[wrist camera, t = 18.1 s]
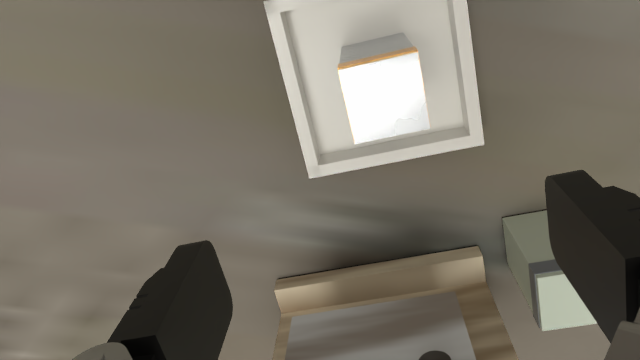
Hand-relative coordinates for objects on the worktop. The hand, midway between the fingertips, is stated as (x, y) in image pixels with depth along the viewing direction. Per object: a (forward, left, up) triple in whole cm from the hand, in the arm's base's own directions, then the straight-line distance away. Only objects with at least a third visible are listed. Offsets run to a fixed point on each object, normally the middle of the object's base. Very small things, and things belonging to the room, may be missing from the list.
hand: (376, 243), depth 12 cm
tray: (+1, +1, -24) cm, 24 cm away
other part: (+16, +10, -24) cm, 30 cm away
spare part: (+1, +1, -23) cm, 23 cm away
